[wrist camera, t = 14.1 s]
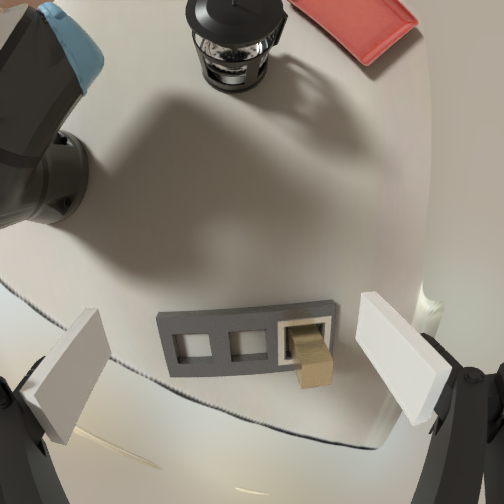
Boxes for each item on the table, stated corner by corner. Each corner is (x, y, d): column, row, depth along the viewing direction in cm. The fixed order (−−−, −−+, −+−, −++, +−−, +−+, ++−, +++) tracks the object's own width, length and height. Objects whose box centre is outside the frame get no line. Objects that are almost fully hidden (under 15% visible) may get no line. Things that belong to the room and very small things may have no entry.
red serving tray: (412, 27, 34) (421, 21, 30) (358, 73, 36) (367, 67, 33) (338, -36, 30) (344, -45, 26) (273, 1, 32) (276, -9, 29)
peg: (288, 346, 48) (300, 388, 37) (288, 325, 46) (302, 365, 36) (313, 343, 48) (330, 384, 37) (314, 322, 47) (333, 360, 36)
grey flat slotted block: (172, 370, 48) (170, 378, 46) (158, 312, 45) (155, 318, 42) (327, 358, 49) (331, 366, 47) (332, 299, 46) (336, 305, 43)
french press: (217, 107, 37) (197, 36, 15) (186, 59, 34) (144, -32, 12) (288, 71, 36) (340, -13, 14) (255, 25, 33) (274, -75, 11)
